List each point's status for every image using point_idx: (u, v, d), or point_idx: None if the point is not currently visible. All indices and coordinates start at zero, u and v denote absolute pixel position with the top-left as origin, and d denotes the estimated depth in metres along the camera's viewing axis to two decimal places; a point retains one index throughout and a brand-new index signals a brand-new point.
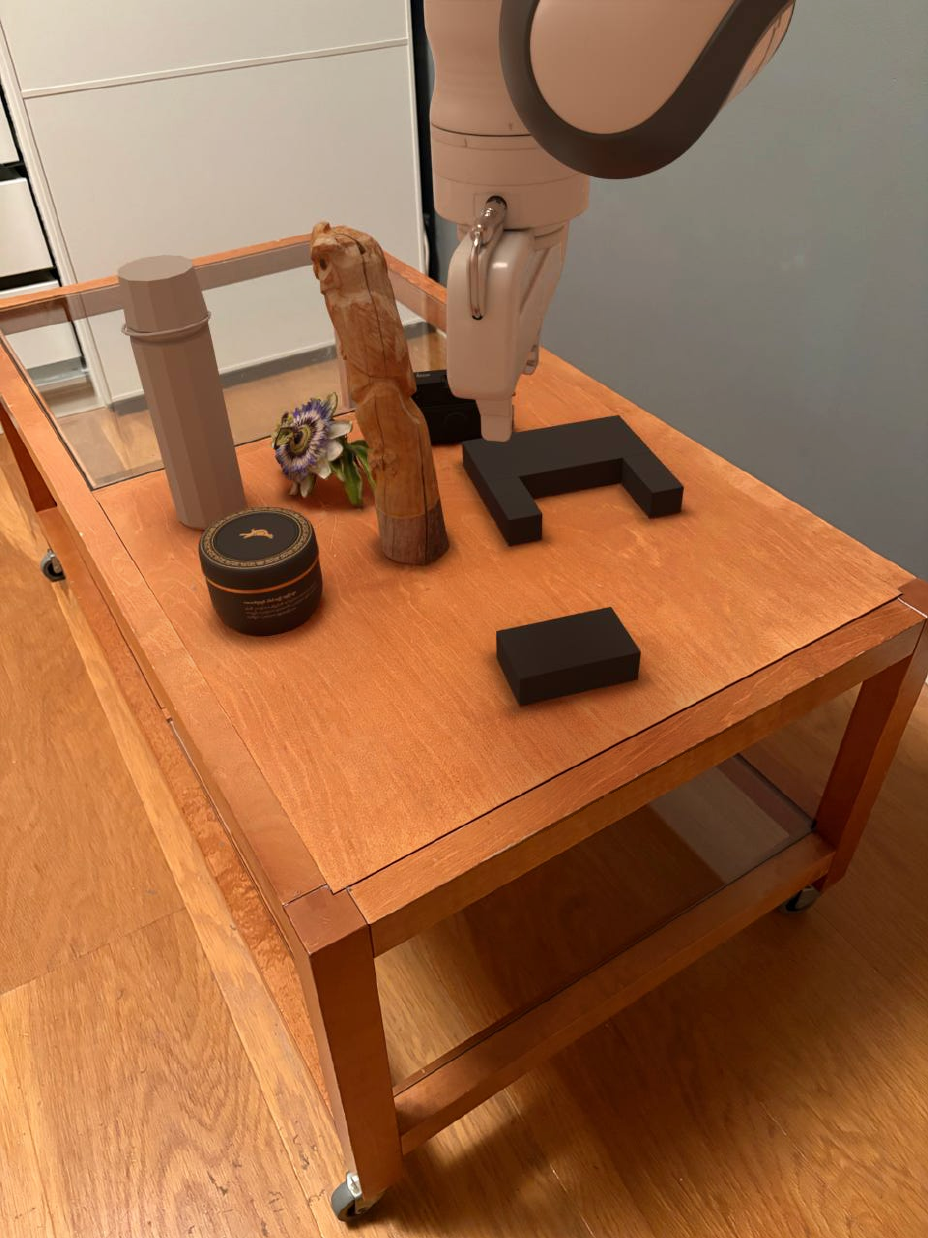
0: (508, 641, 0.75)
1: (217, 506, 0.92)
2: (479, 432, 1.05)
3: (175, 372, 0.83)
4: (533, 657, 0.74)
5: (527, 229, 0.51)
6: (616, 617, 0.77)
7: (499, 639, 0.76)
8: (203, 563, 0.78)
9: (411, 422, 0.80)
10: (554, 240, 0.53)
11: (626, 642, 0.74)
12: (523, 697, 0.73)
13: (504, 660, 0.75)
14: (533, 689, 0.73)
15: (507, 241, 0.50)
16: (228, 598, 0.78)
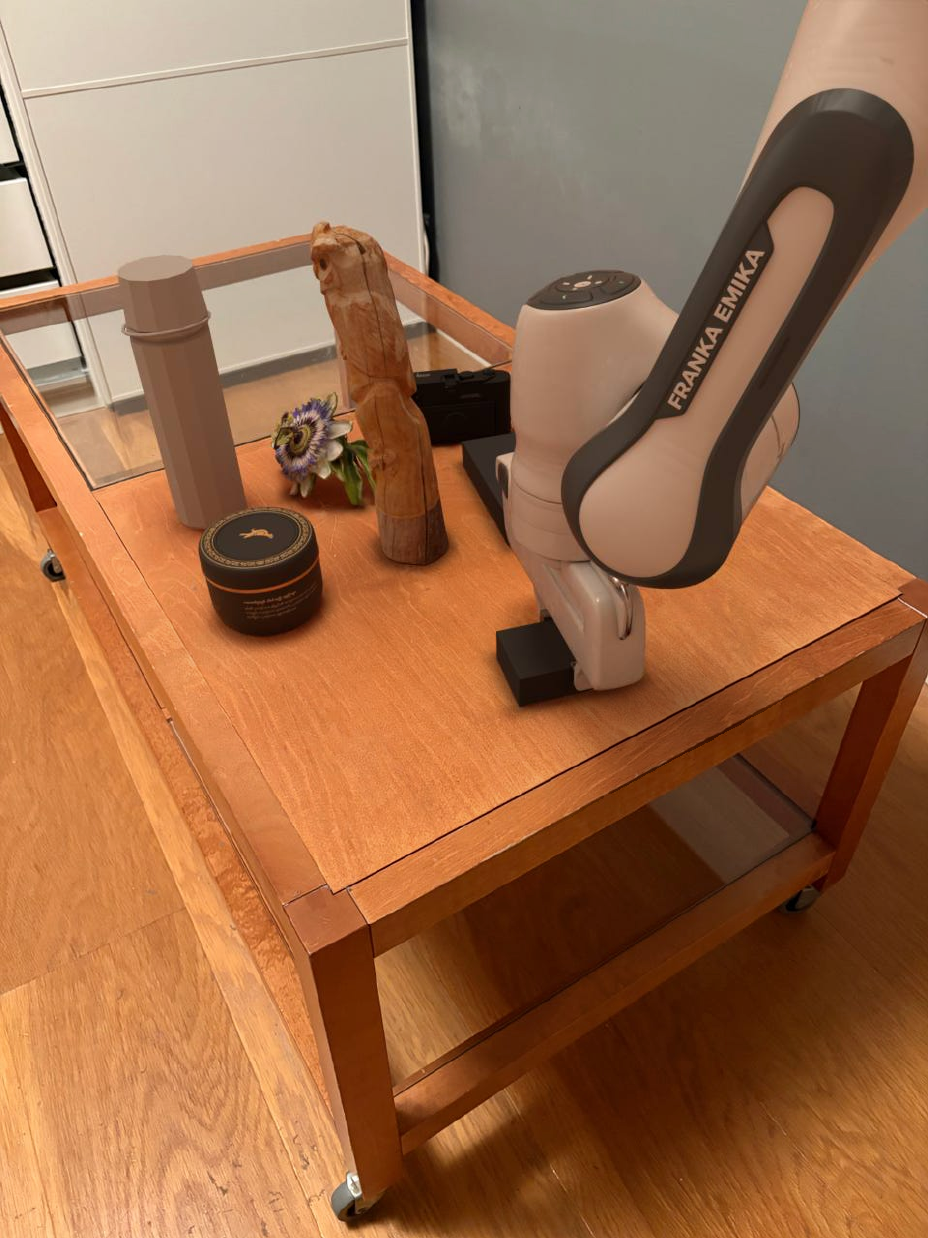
0: (508, 641, 0.75)
1: (217, 506, 0.92)
2: (479, 432, 1.05)
3: (175, 372, 0.83)
4: (532, 657, 0.74)
5: None
6: None
7: (499, 639, 0.76)
8: (203, 563, 0.78)
9: (411, 422, 0.80)
10: None
11: None
12: (523, 697, 0.73)
13: (504, 660, 0.75)
14: (533, 690, 0.73)
15: None
16: (228, 598, 0.78)
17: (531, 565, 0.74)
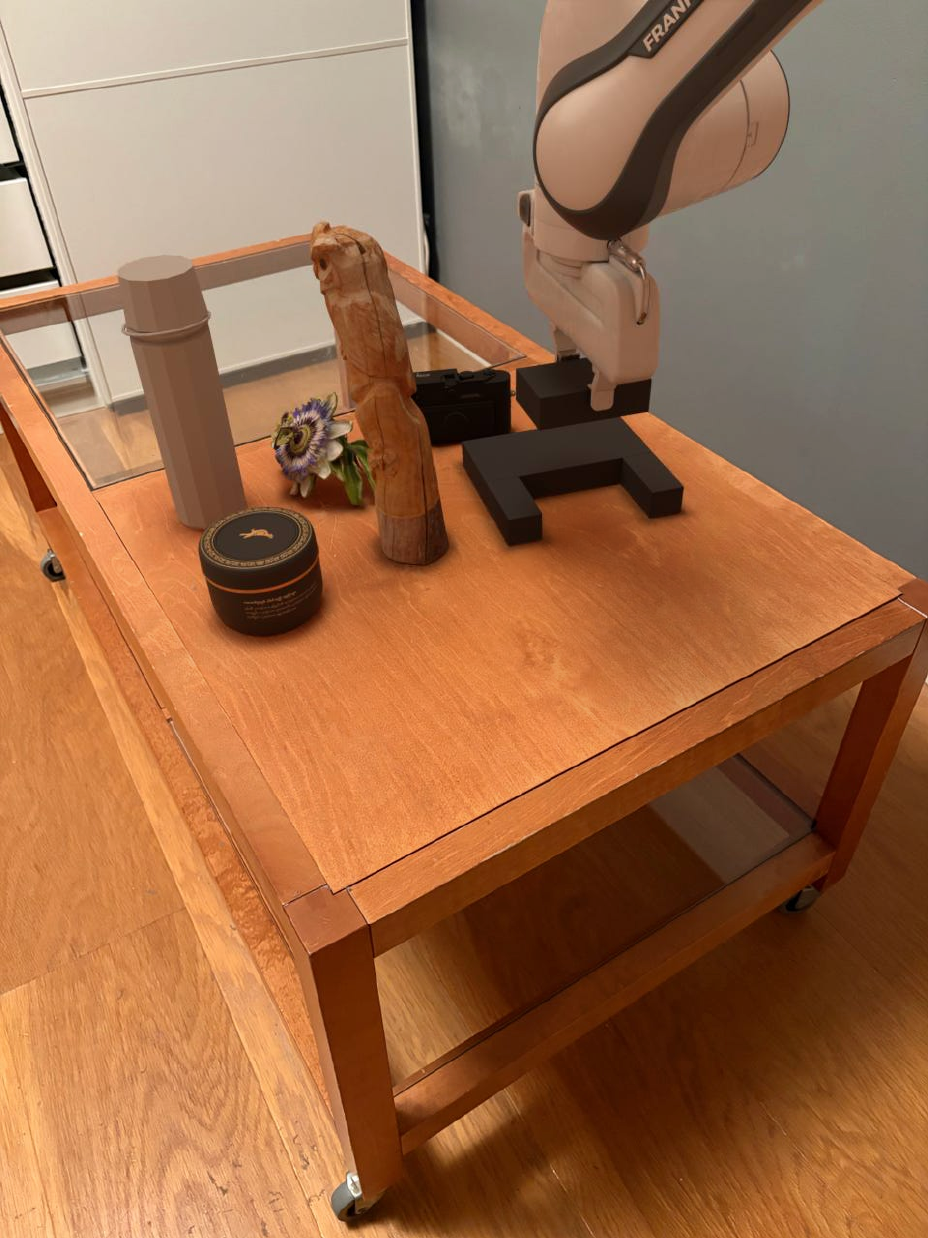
0: (528, 374, 0.80)
1: (217, 506, 0.92)
2: (479, 432, 1.05)
3: (175, 372, 0.83)
4: (551, 384, 0.79)
5: None
6: None
7: (519, 374, 0.81)
8: (203, 563, 0.78)
9: (411, 422, 0.80)
10: None
11: None
12: (542, 419, 0.78)
13: (524, 393, 0.81)
14: (552, 412, 0.78)
15: None
16: (228, 598, 0.78)
17: (550, 299, 0.79)
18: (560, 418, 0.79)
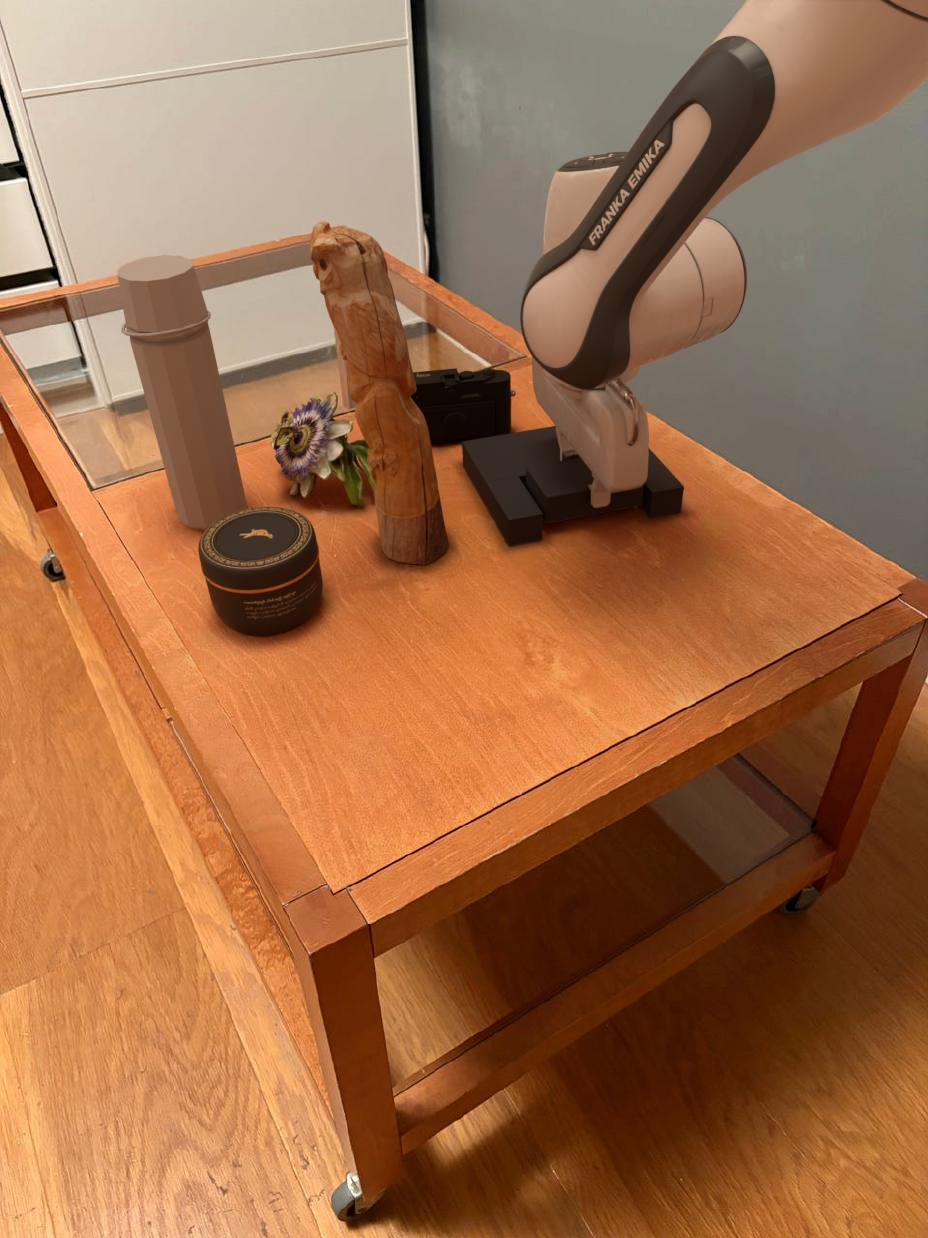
0: (536, 473, 0.92)
1: (217, 506, 0.92)
2: (479, 432, 1.05)
3: (175, 372, 0.83)
4: (556, 483, 0.91)
5: None
6: None
7: (529, 472, 0.93)
8: (203, 563, 0.78)
9: (411, 422, 0.80)
10: None
11: None
12: (549, 515, 0.90)
13: (533, 489, 0.93)
14: (557, 508, 0.90)
15: None
16: (228, 598, 0.78)
17: (555, 409, 0.91)
18: (564, 513, 0.91)
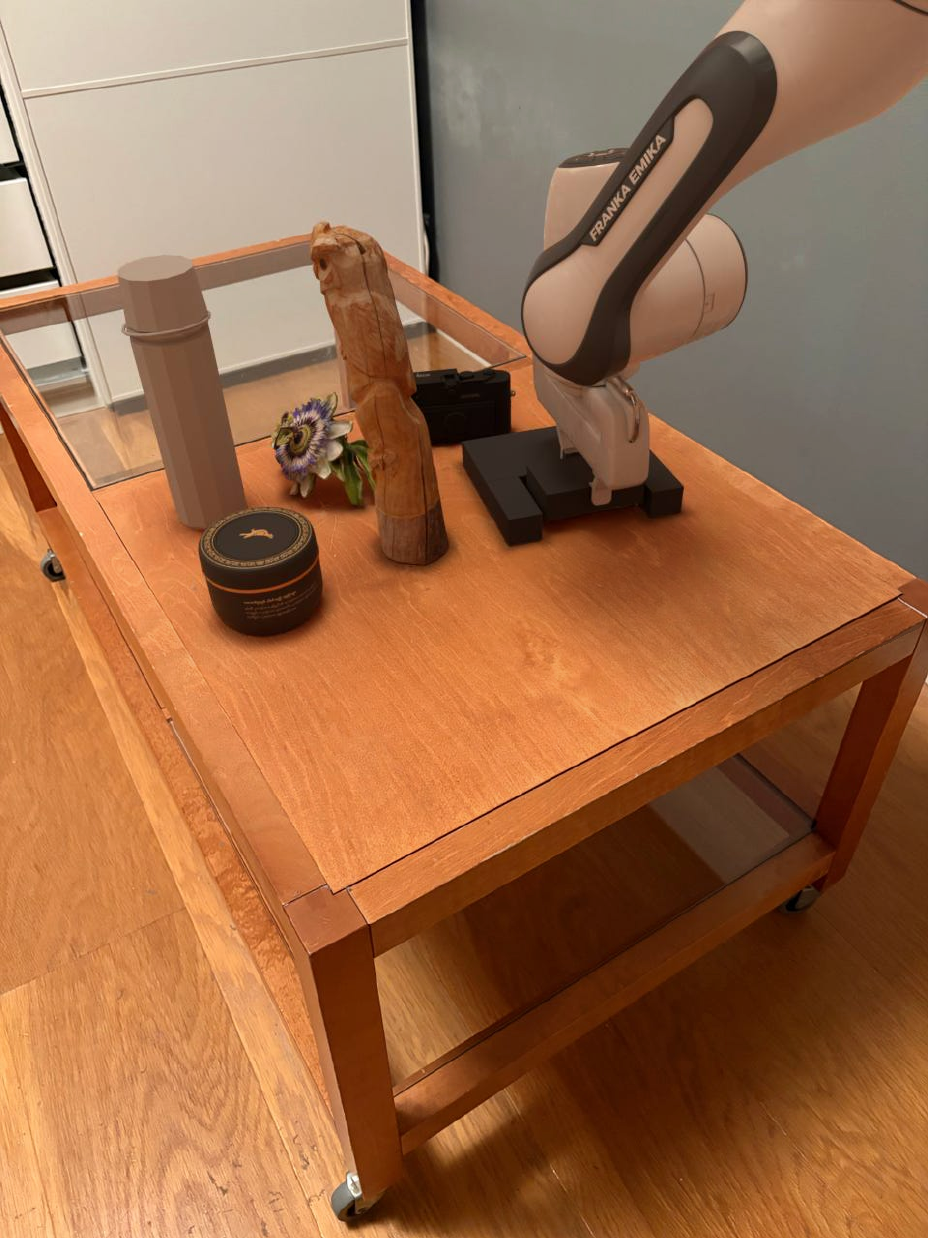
0: (537, 471, 0.92)
1: (217, 506, 0.92)
2: (479, 432, 1.05)
3: (175, 372, 0.83)
4: (557, 481, 0.91)
5: None
6: None
7: (529, 470, 0.93)
8: (203, 563, 0.78)
9: (411, 422, 0.80)
10: None
11: None
12: (549, 512, 0.90)
13: (533, 487, 0.92)
14: (557, 505, 0.90)
15: None
16: (228, 598, 0.78)
17: (556, 407, 0.91)
18: (565, 510, 0.90)
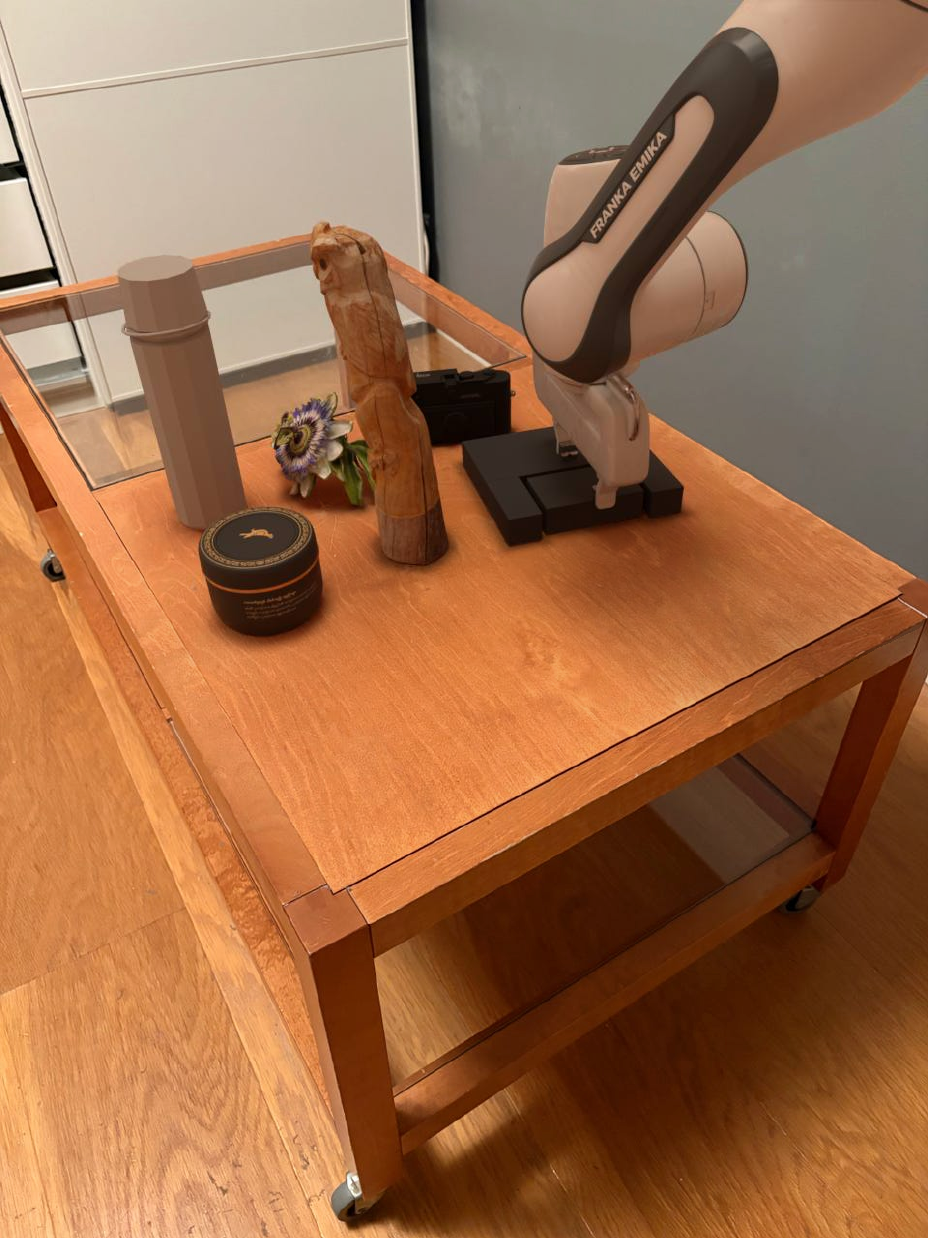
0: (537, 484, 0.93)
1: (217, 506, 0.92)
2: (479, 432, 1.05)
3: (175, 372, 0.83)
4: (557, 494, 0.92)
5: None
6: None
7: (529, 483, 0.94)
8: (203, 563, 0.78)
9: (411, 422, 0.80)
10: None
11: None
12: (549, 526, 0.91)
13: None
14: (557, 519, 0.91)
15: None
16: (228, 598, 0.78)
17: (556, 404, 0.91)
18: (564, 524, 0.92)
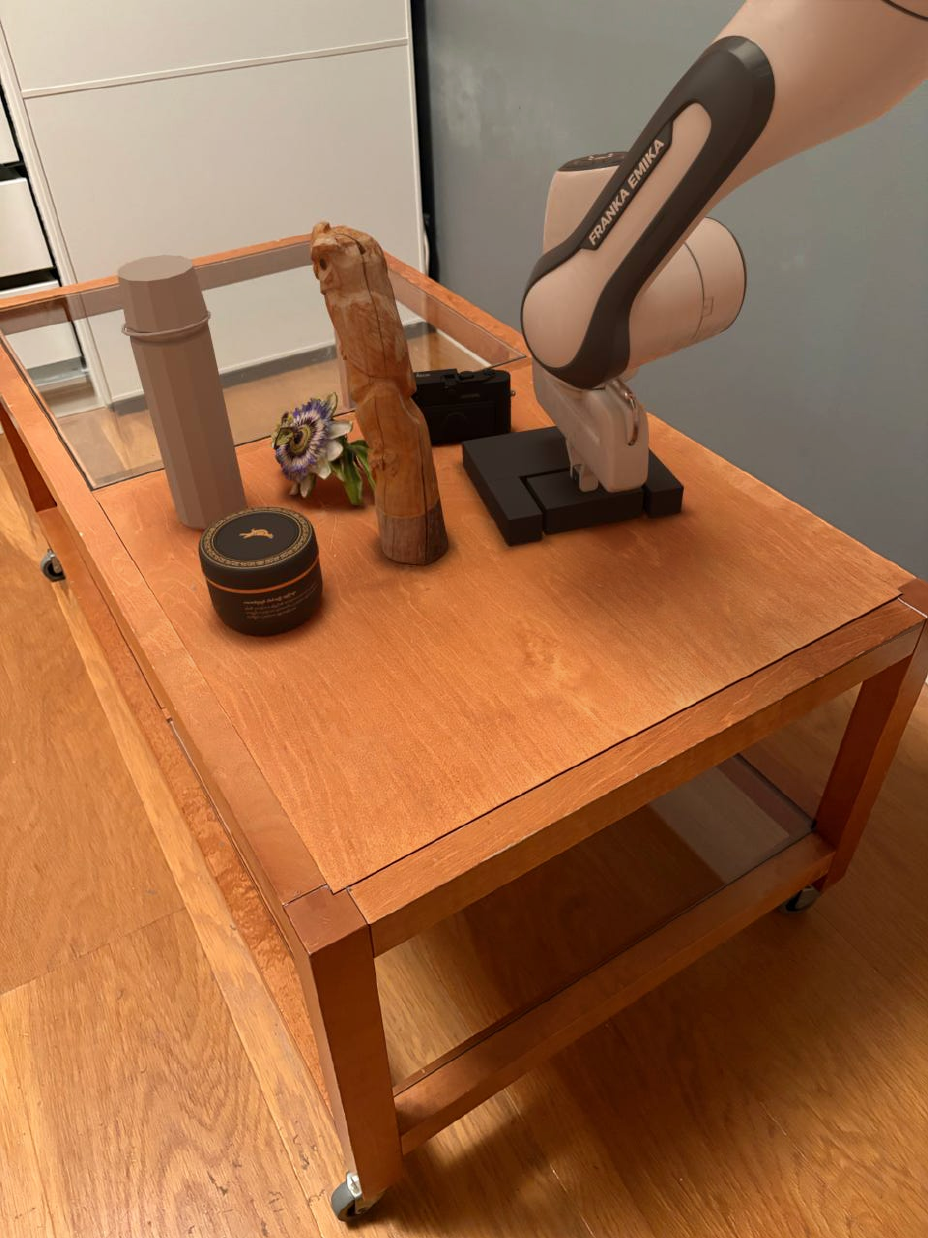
0: (537, 485, 0.93)
1: (217, 506, 0.92)
2: (479, 432, 1.05)
3: (175, 372, 0.83)
4: (557, 495, 0.92)
5: None
6: None
7: (529, 484, 0.94)
8: (203, 563, 0.78)
9: (411, 422, 0.80)
10: None
11: None
12: (549, 526, 0.91)
13: None
14: (557, 519, 0.91)
15: None
16: (228, 598, 0.78)
17: (555, 409, 0.91)
18: (564, 524, 0.92)
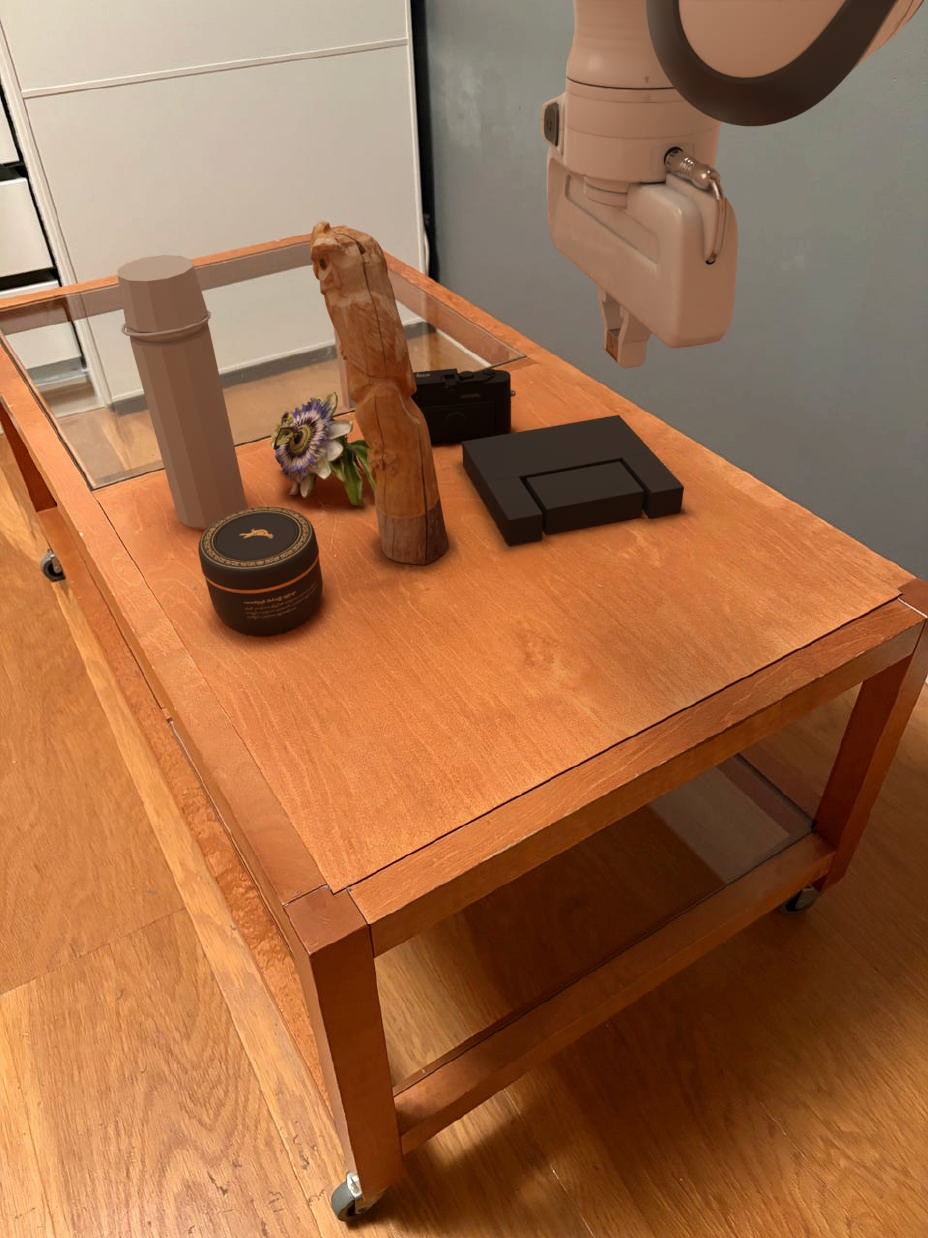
0: (537, 484, 0.93)
1: (217, 506, 0.92)
2: (479, 432, 1.05)
3: (175, 372, 0.83)
4: (557, 495, 0.92)
5: None
6: (624, 468, 0.95)
7: (529, 484, 0.94)
8: (203, 563, 0.78)
9: (411, 422, 0.80)
10: None
11: (632, 484, 0.93)
12: (549, 526, 0.91)
13: None
14: (557, 519, 0.91)
15: None
16: (228, 598, 0.78)
17: (583, 243, 0.61)
18: (564, 524, 0.92)
